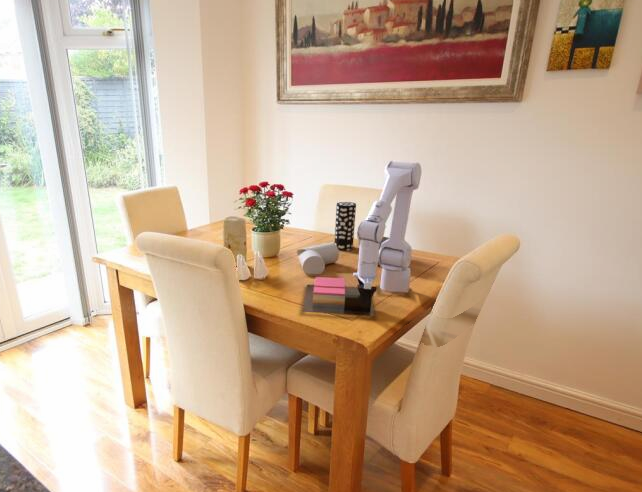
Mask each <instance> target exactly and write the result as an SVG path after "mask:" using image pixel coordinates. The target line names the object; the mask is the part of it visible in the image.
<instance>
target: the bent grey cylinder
mask: <svg viewBox="0 0 642 492" xmlns="http://www.w3.org/2000/svg"><path fill="white" fill-rule="evenodd" d="M296 255H297V259H298V261H299V264H300V266H301V268H302V270H303V273H304V274H305V275H321V274H322V273H323V272H324V271H325V269H326V265H329V264H333V263H336V262H337V261H338V260H339V258H340V250H338V248H337V246H336V245H335V244H334V242H332V241H330V242H326V243H320V244H317V245H312V246H308V247H307V246H306V247H303V248H299V249H297V250H296Z"/></svg>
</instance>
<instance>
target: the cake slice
mask: <svg viewBox="0 0 642 492" xmlns="http://www.w3.org/2000/svg"><path fill="white" fill-rule="evenodd" d="M313 298H320V299H338V300H345V289H341V288H322V287H314V292H313Z"/></svg>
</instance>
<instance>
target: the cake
mask: <svg viewBox="0 0 642 492" xmlns="http://www.w3.org/2000/svg"><path fill="white" fill-rule="evenodd" d="M313 285H314V287H322V288H341V289H345V286H346V278H344V277H325V276H323V277H321V276H315V279H314V284H313Z"/></svg>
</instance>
